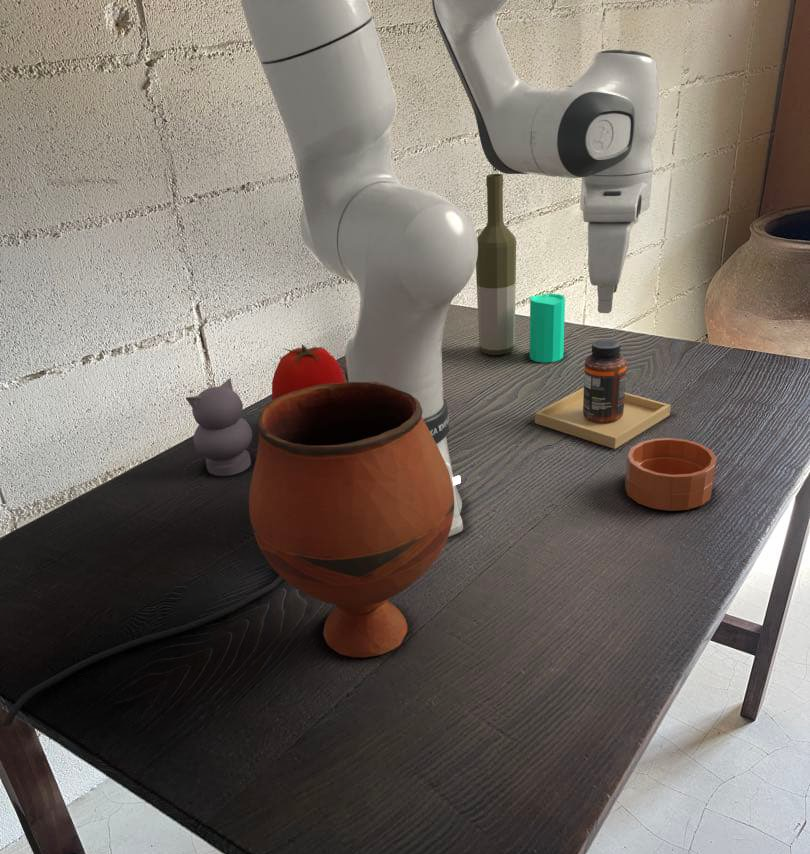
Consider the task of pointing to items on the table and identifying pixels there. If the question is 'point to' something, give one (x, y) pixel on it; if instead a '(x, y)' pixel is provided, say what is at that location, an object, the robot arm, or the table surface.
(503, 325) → the bottle
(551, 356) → the candle
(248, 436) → the cat figurine
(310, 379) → the tomato
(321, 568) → the goblet
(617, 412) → the supplement bottle
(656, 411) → the tray
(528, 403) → the table surface
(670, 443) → the bowl
